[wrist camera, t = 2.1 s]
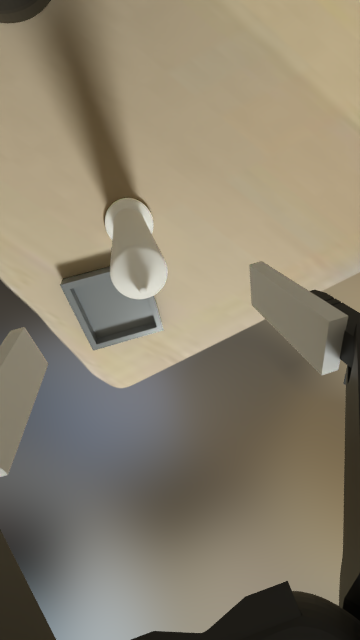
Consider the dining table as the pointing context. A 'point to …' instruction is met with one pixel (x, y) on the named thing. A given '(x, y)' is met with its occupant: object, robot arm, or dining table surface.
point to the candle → (134, 250)
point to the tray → (109, 310)
